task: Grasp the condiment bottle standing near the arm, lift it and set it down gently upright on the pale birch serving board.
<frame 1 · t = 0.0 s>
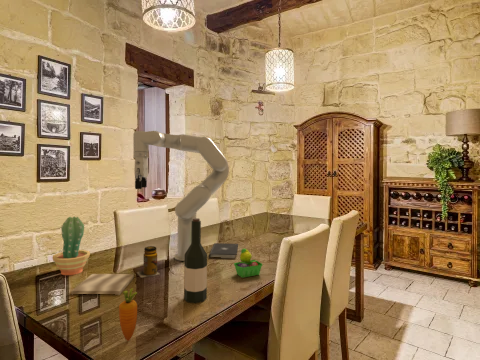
hand: (141, 188, 164), 37 cm above the table, tool pointing down, fingers open, 9 cm apart
fruit basket: (247, 274, 144), on the table
condiment: (148, 274, 143), on the table
board: (104, 285, 128), on the table
potted cactus: (71, 272, 143), on the table
book: (224, 254, 178), on the table
carrot: (128, 341, 89), on the table
wine bottle: (195, 298, 118), on the table
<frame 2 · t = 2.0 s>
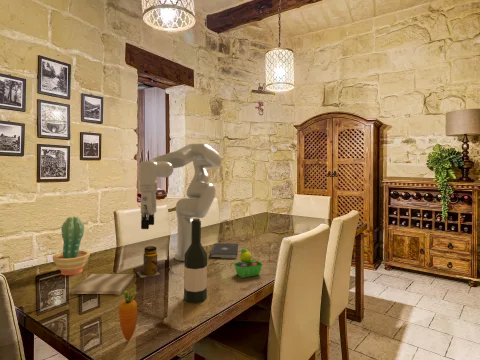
hand: (147, 226, 141), 21 cm above the table, tool pointing down, fingers open, 9 cm apart
nothing on the table moved.
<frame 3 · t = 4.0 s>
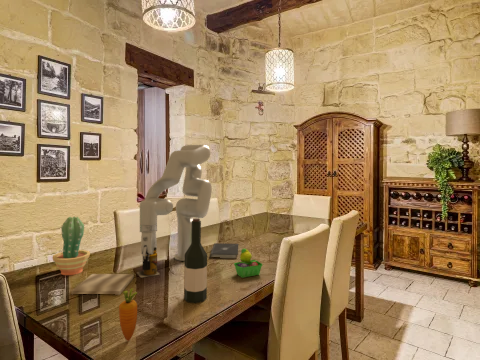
hand: (148, 266, 143), 3 cm above the table, tool pointing down, fingers closed on condiment, 6 cm apart
condiment: (148, 274, 142), on the table, touching gripper
everything else where it was.
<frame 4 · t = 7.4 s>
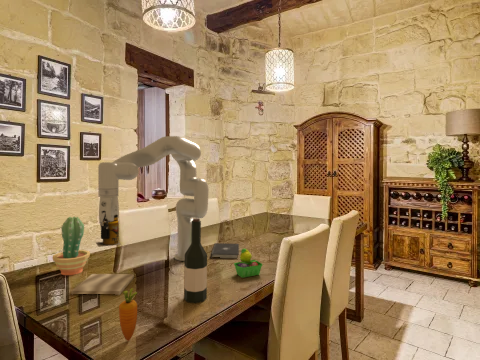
hand: (108, 236, 128), 20 cm above the table, tool pointing down, fingers closed on condiment, 6 cm apart
condiment: (108, 244, 128), point 17 cm above the table, touching gripper
everything else where it was.
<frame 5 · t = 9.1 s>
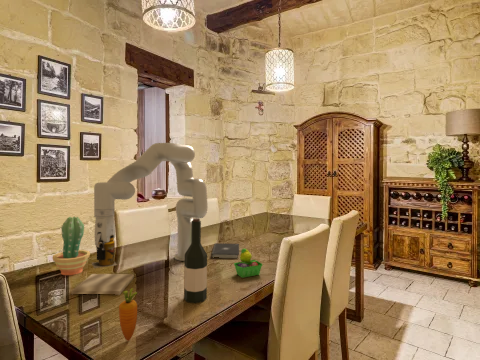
hand: (104, 256, 128), 12 cm above the table, tool pointing down, fingers closed on condiment, 6 cm apart
condiment: (104, 264, 127), point 9 cm above the table, touching gripper
everything else where it was.
when the fingers open (5 cm above the table, at t = 10.8 s): condiment stays where it is, resting on board.
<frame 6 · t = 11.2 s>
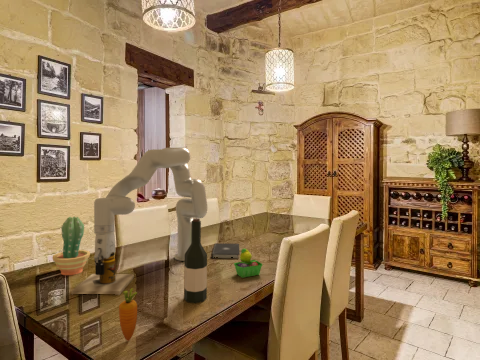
hand: (104, 270, 128), 6 cm above the table, tool pointing down, fingers open, 9 cm apart
condiment: (105, 282, 128), point 1 cm above the table, touching board
everything else where it was.
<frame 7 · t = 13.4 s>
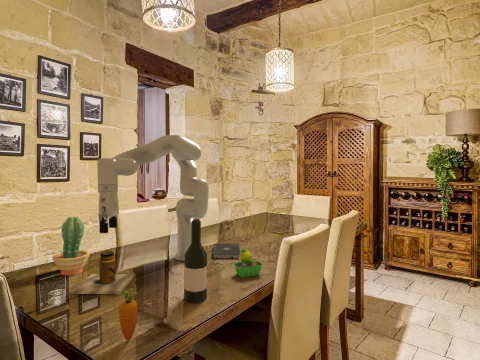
hand: (108, 230, 129), 22 cm above the table, tool pointing down, fingers open, 9 cm apart
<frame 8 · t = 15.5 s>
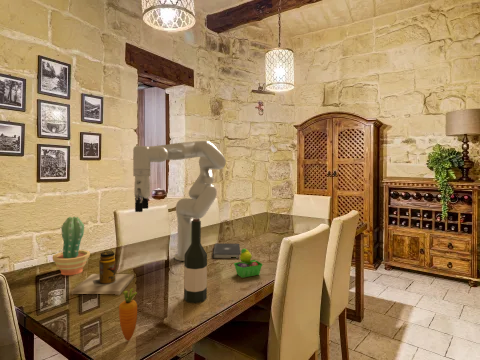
hand: (141, 210, 145), 28 cm above the table, tool pointing down, fingers open, 9 cm apart
at the end: condiment inside the target area on the board (0.2 cm from its centre), point 1.3 cm above the board's base; condiment tilted 0°; the gripper is holding nothing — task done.
